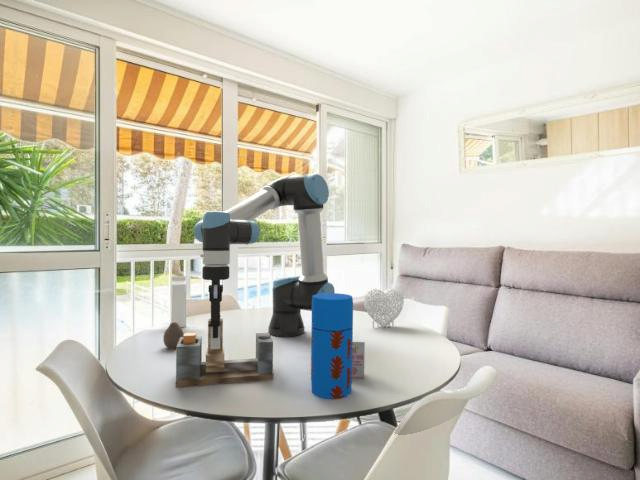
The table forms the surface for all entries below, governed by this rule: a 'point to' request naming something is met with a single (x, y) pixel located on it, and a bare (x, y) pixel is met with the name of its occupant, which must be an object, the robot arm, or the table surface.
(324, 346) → the thermos
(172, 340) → the vase
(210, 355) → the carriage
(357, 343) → the white printed box
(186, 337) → the button
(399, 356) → the table surface
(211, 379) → the rail track
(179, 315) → the milk
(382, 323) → the decorative heart
